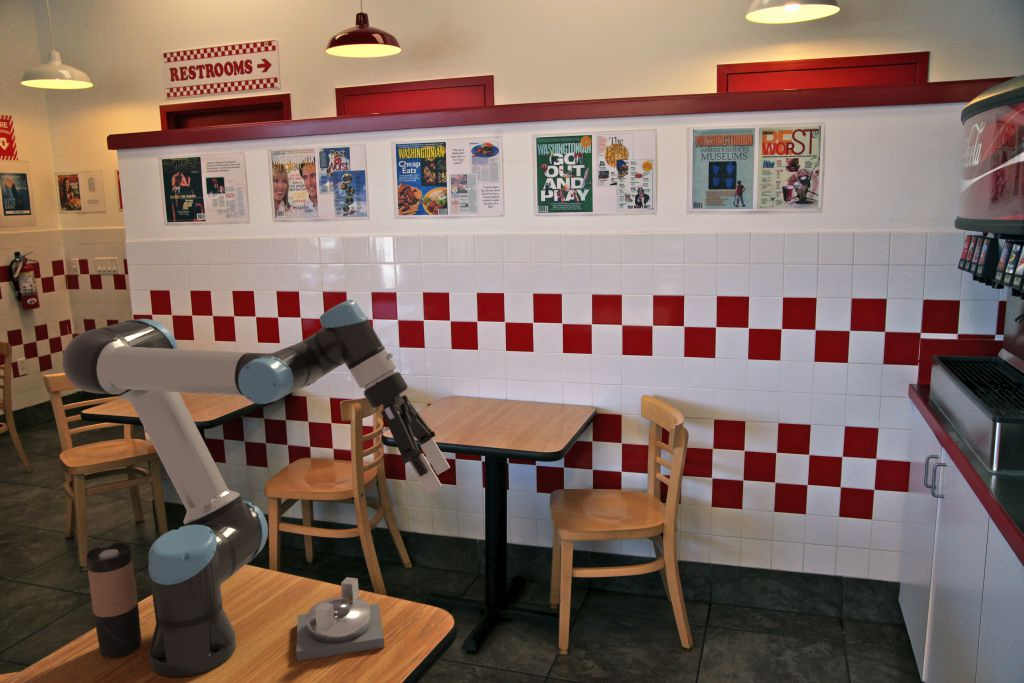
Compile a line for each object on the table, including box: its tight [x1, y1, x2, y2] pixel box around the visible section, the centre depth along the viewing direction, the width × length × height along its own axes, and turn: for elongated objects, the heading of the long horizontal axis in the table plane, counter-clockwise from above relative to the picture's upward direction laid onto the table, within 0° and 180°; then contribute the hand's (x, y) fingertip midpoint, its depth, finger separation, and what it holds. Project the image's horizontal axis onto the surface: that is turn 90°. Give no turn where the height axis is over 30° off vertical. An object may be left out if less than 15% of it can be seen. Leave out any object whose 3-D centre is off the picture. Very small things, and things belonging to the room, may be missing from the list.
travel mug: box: [86, 542, 142, 659], centre depth 149 cm, size 8×8×20 cm
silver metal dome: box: [306, 576, 371, 642], centre depth 153 cm, size 12×12×7 cm
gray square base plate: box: [295, 603, 385, 662], centre depth 153 cm, size 16×13×3 cm
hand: (439, 480), depth 144 cm, fingers open, 13 cm apart
